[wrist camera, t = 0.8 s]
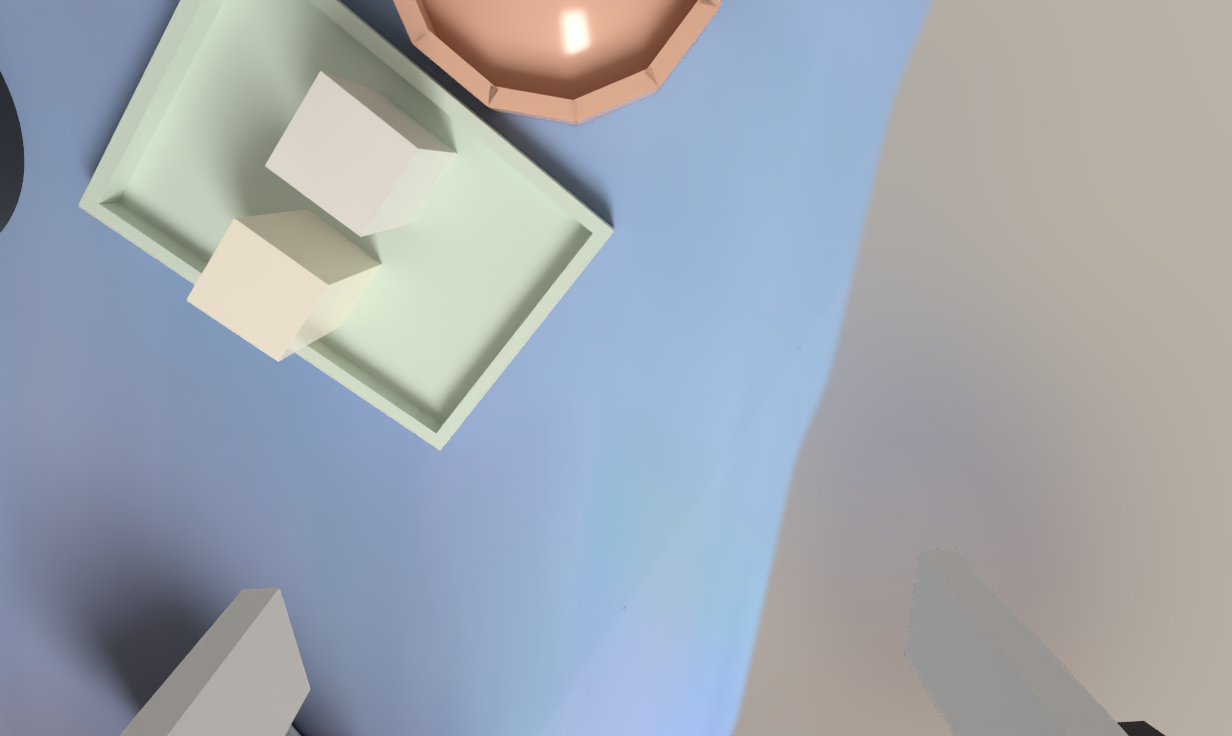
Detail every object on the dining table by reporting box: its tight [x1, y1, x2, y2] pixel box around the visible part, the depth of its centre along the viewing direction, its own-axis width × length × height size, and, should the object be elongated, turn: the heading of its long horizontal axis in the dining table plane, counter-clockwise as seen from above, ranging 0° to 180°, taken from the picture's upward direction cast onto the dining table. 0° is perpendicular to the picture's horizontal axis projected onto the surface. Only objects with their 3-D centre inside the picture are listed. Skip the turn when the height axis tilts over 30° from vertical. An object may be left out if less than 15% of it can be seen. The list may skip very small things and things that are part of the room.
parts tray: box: [78, 0, 614, 450], centre depth 29 cm, size 21×16×2 cm
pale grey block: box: [265, 71, 457, 237], centre depth 26 cm, size 4×4×6 cm
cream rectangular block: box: [187, 209, 382, 362], centre depth 28 cm, size 4×4×6 cm
